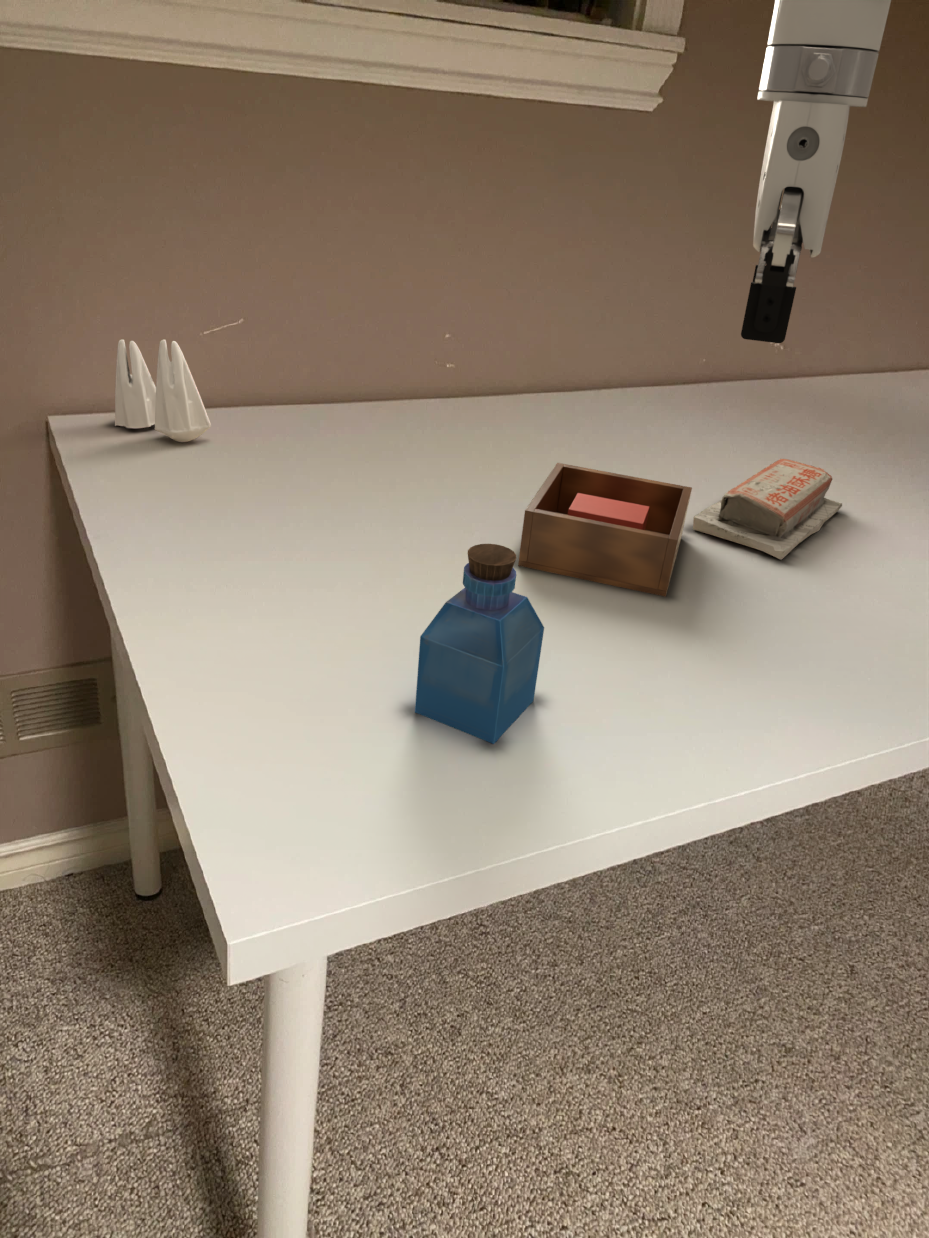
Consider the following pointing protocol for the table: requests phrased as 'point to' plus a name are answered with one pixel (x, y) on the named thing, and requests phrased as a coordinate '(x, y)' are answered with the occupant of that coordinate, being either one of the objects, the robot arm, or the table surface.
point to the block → (609, 511)
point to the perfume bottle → (481, 650)
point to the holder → (604, 530)
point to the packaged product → (772, 508)
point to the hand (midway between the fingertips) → (763, 328)
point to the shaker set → (159, 394)
